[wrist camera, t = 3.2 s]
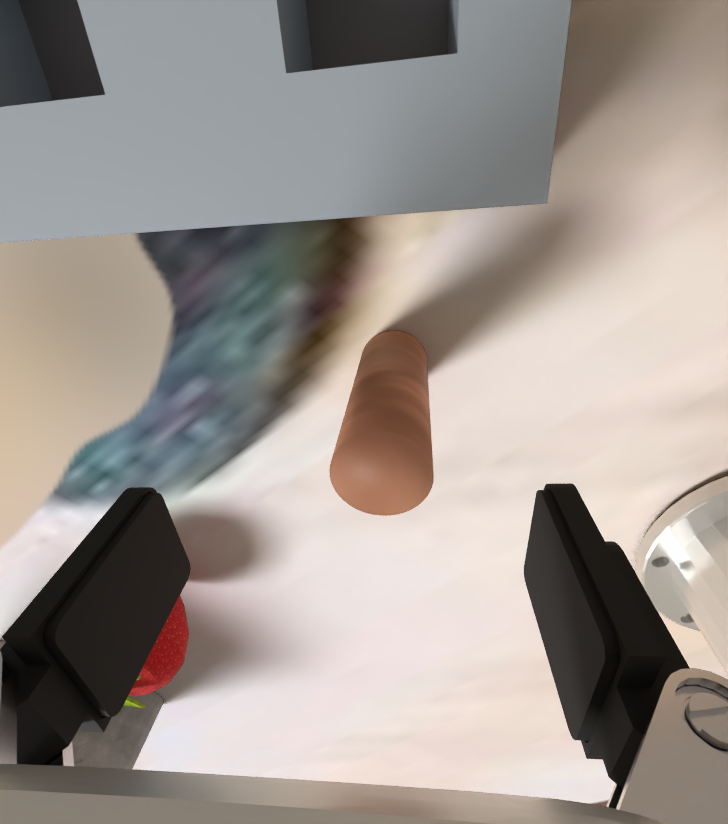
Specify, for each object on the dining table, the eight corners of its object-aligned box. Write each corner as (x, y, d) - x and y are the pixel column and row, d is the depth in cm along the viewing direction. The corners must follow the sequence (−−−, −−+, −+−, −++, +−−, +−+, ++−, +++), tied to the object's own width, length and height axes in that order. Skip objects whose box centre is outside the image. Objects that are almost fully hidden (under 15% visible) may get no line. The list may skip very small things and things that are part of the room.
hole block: (558, -326, 11) (650, -645, 7) (513, 194, 17) (546, 203, 13) (-103, -180, 14) (-345, -342, 9) (57, 228, 19) (-45, 246, 15)
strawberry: (117, 530, 29) (-9, 682, 20) (223, 563, 30) (145, 725, 21) (115, 583, 32) (4, 735, 23) (212, 612, 33) (139, 772, 24)
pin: (426, 329, 20) (433, 432, 12) (426, 390, 22) (433, 516, 14) (358, 331, 20) (323, 432, 13) (363, 391, 22) (335, 514, 14)
